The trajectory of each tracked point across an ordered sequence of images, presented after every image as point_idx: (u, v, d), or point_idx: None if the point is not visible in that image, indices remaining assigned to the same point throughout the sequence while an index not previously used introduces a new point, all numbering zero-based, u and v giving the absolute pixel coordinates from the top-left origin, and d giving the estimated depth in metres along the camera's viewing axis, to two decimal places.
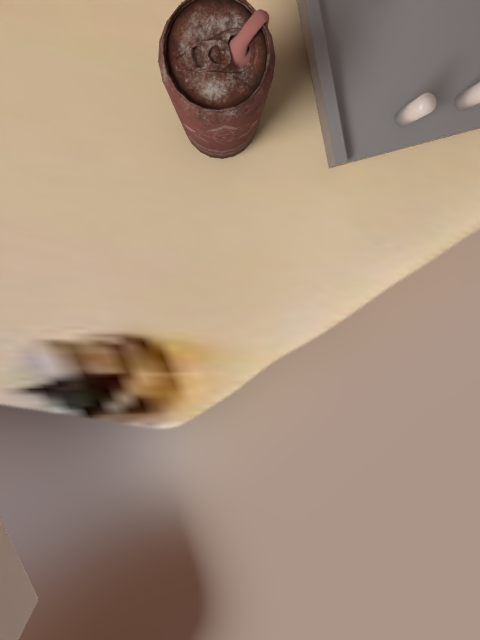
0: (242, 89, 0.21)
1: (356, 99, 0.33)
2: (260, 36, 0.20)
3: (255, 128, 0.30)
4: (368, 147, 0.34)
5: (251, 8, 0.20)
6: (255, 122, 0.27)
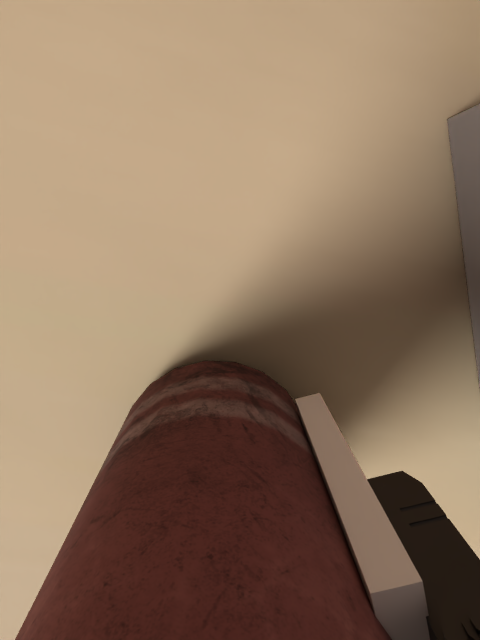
0: None
1: None
2: None
3: None
4: None
5: None
6: None
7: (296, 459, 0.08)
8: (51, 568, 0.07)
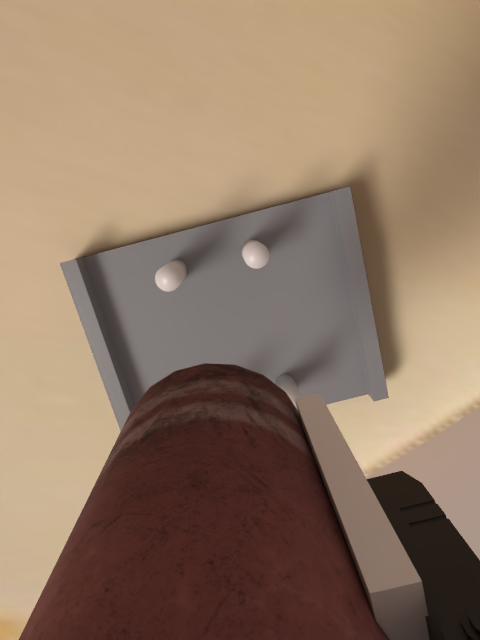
0: None
1: None
2: None
3: None
4: None
5: None
6: None
7: (297, 463, 0.08)
8: (52, 573, 0.07)
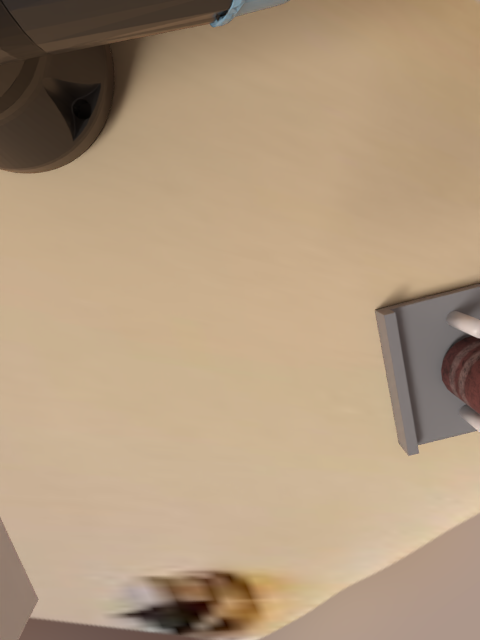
0: None
1: (426, 399, 0.38)
2: None
3: None
4: (435, 434, 0.39)
5: None
6: None
7: None
8: None
